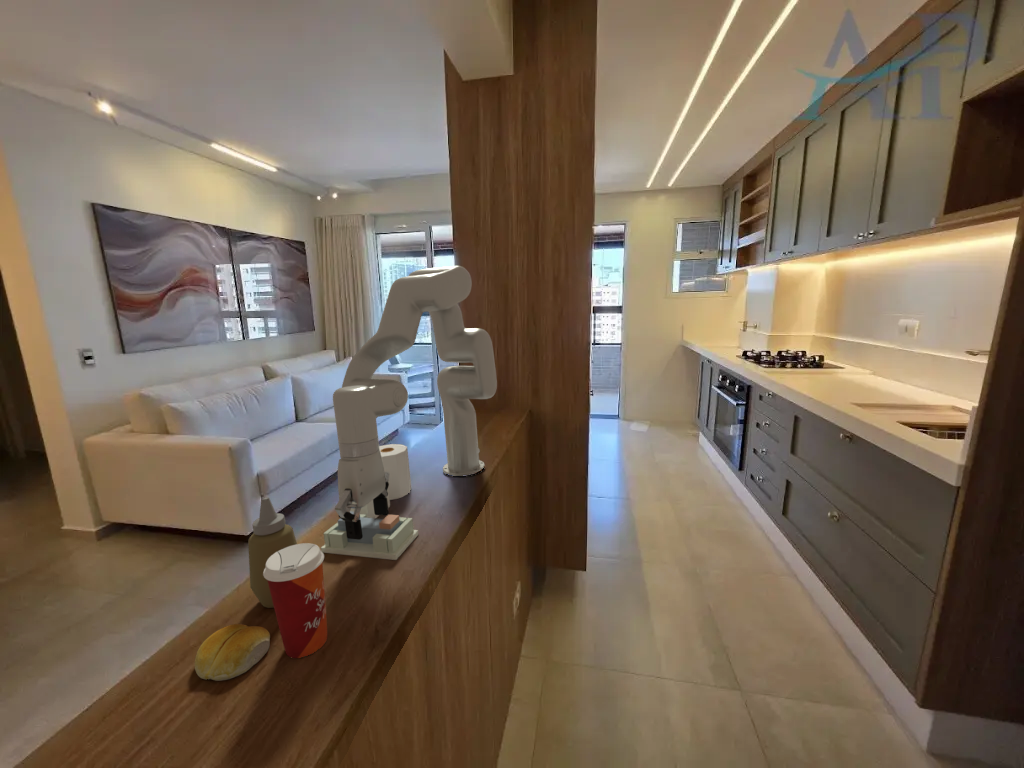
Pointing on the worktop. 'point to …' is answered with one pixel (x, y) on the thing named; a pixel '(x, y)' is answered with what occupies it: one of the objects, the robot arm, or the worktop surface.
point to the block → (370, 508)
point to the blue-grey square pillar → (373, 527)
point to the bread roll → (231, 651)
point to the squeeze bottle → (266, 547)
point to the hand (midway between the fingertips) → (369, 525)
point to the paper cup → (298, 597)
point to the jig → (381, 545)
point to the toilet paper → (396, 469)
